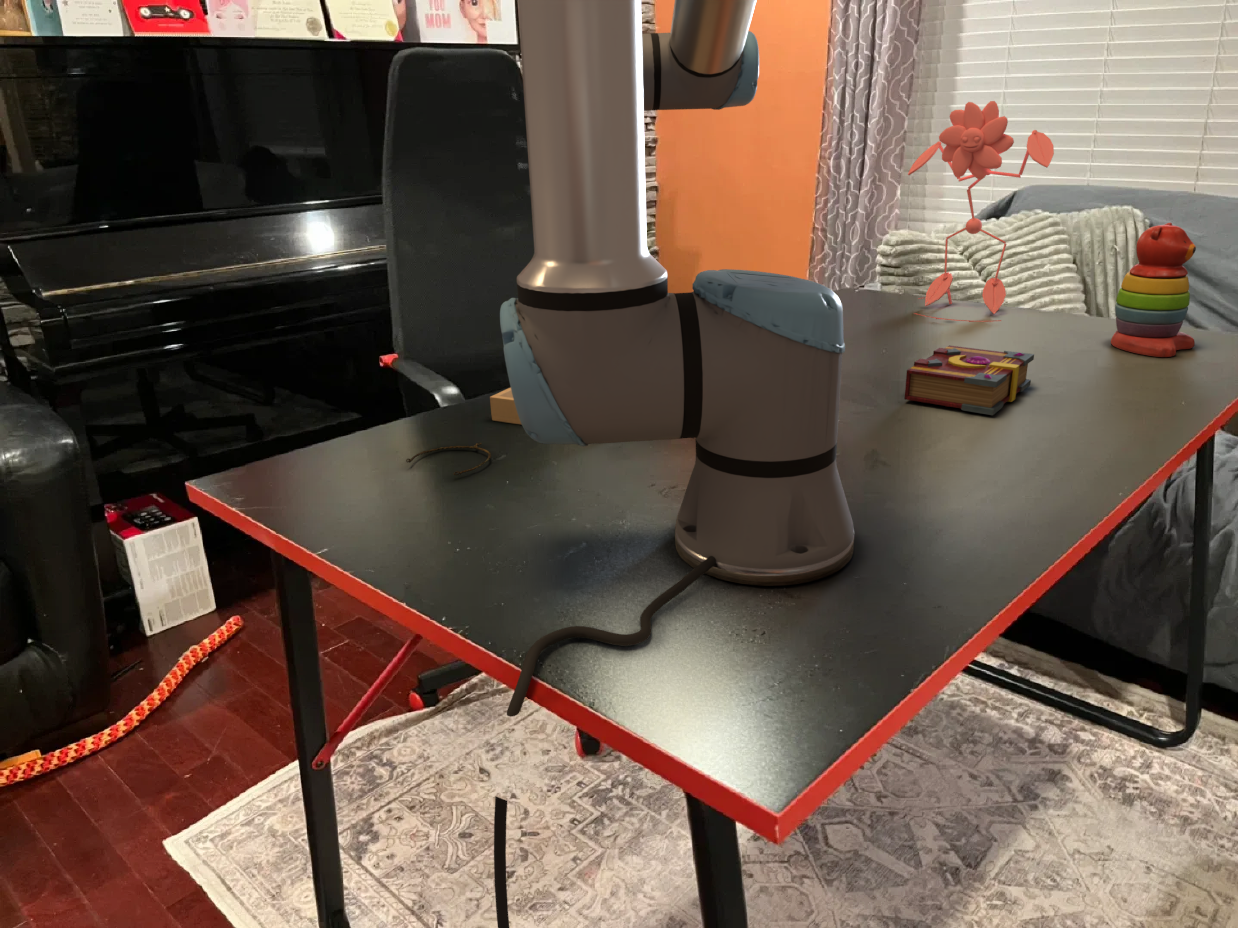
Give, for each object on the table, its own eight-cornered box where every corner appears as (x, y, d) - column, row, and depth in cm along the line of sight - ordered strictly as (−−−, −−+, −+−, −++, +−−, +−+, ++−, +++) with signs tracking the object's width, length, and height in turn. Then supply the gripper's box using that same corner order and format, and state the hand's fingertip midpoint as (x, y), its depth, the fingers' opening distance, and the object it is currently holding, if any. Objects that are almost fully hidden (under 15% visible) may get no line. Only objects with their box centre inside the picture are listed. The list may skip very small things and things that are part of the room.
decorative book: (901, 402, 115) (904, 364, 113) (947, 373, 126) (951, 338, 125) (993, 418, 108) (998, 377, 106) (1033, 385, 120) (1038, 348, 118)
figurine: (912, 297, 176) (928, 102, 163) (1046, 315, 158) (1076, 97, 145) (867, 310, 166) (880, 104, 153) (1004, 330, 148) (1032, 99, 135)
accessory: (513, 452, 103) (512, 444, 102) (461, 479, 95) (460, 470, 95) (452, 441, 107) (451, 433, 107) (399, 466, 100) (398, 458, 99)
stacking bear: (1167, 359, 129) (1191, 231, 123) (1095, 347, 136) (1114, 225, 130) (1198, 346, 135) (1223, 223, 129) (1127, 335, 143) (1147, 218, 136)
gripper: (555, 173, 96) (566, 369, 104) (658, 162, 117) (661, 326, 124) (497, 174, 100) (512, 363, 107) (607, 163, 120) (613, 322, 128)
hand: (592, 343), depth 116 cm, fingers open, 13 cm apart
